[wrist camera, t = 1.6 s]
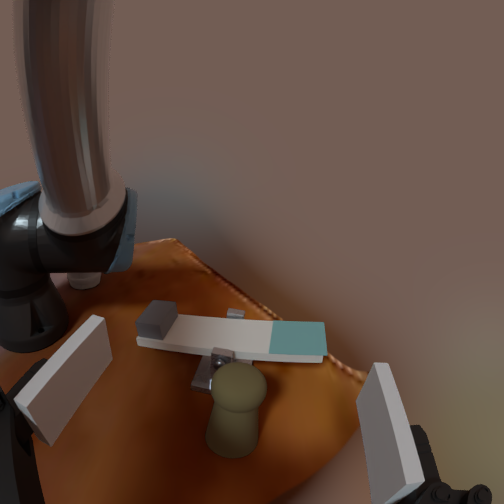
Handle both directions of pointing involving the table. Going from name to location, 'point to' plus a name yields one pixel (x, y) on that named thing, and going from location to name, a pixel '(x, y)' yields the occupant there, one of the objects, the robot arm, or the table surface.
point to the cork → (235, 409)
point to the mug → (83, 280)
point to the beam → (230, 335)
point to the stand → (215, 360)
